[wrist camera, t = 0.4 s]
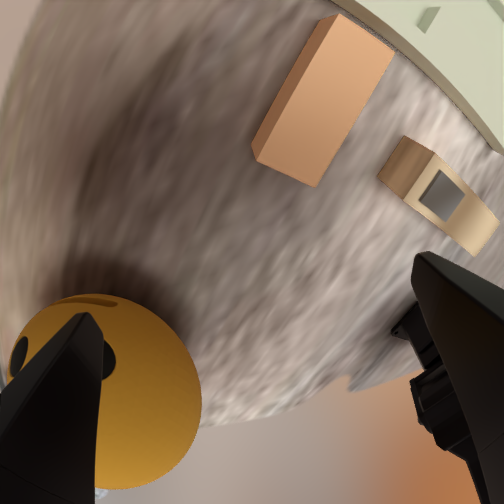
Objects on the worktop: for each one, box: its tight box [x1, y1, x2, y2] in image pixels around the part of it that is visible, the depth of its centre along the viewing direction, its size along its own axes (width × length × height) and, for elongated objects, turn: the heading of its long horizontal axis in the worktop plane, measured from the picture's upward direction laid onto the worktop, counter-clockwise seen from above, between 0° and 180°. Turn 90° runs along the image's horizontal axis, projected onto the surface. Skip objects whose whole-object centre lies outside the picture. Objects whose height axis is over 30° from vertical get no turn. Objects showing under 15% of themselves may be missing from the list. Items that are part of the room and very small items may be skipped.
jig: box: [331, 0, 504, 156], centre depth 12 cm, size 19×13×2 cm
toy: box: [7, 294, 202, 489], centre depth 20 cm, size 15×15×15 cm
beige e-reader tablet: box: [377, 136, 500, 257], centre depth 19 cm, size 10×4×4 cm, turn 62°
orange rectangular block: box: [251, 14, 395, 188], centre depth 16 cm, size 4×9×4 cm, turn 154°
